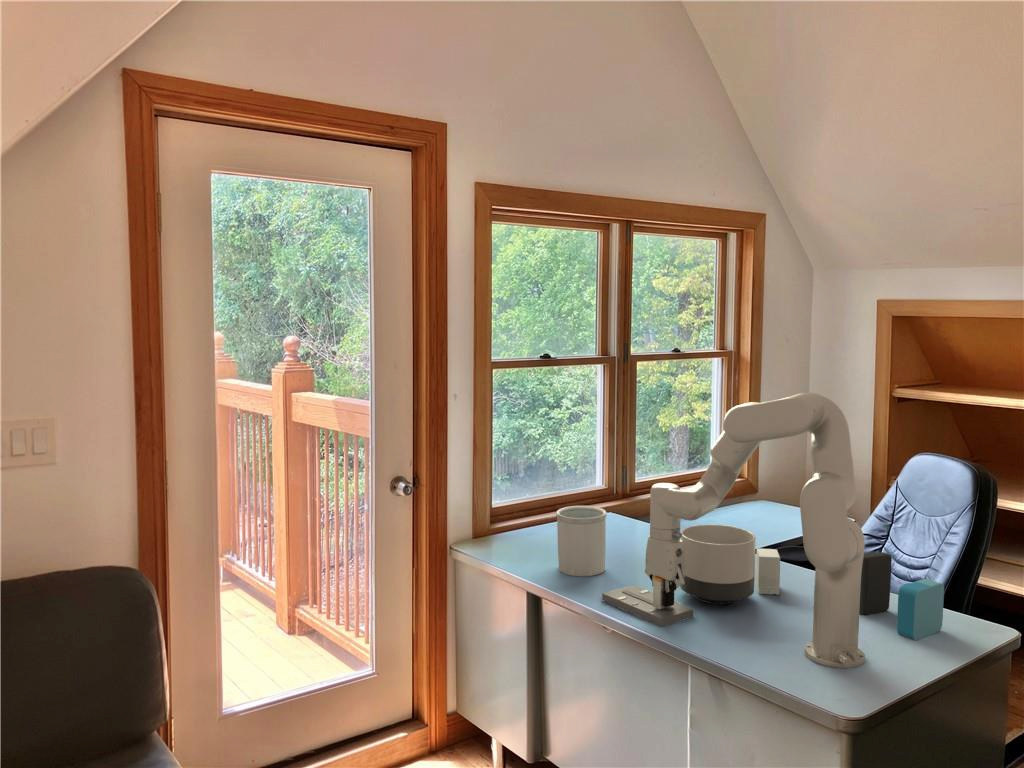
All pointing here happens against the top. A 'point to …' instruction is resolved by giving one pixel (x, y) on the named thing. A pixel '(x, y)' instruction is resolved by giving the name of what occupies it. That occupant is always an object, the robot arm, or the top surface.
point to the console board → (646, 605)
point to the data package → (920, 609)
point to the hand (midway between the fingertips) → (663, 603)
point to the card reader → (875, 583)
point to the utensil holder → (581, 540)
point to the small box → (768, 571)
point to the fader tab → (658, 592)
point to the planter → (719, 563)
